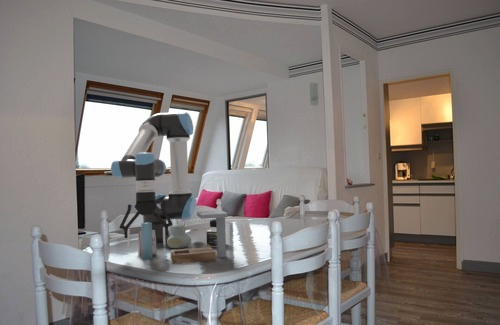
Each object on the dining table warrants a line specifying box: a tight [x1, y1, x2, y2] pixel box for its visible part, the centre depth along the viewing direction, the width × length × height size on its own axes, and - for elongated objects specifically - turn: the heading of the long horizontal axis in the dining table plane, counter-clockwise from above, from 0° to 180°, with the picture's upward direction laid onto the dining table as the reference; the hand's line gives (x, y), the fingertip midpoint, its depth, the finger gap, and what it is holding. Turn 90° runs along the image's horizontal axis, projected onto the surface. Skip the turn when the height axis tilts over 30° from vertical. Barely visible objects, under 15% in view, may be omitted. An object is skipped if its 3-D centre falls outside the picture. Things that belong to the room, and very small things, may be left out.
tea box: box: [137, 230, 157, 257], centre depth 165 cm, size 4×7×10 cm, turn 115°
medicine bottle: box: [205, 218, 228, 248], centre depth 181 cm, size 7×7×12 cm
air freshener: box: [166, 224, 192, 250], centre depth 179 cm, size 11×8×10 cm
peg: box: [140, 222, 154, 261], centre depth 157 cm, size 4×4×14 cm
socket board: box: [170, 246, 216, 265], centre depth 153 cm, size 12×16×3 cm
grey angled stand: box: [196, 209, 229, 258], centre depth 155 cm, size 14×10×18 cm
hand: (146, 245), depth 156 cm, fingers open, 13 cm apart
